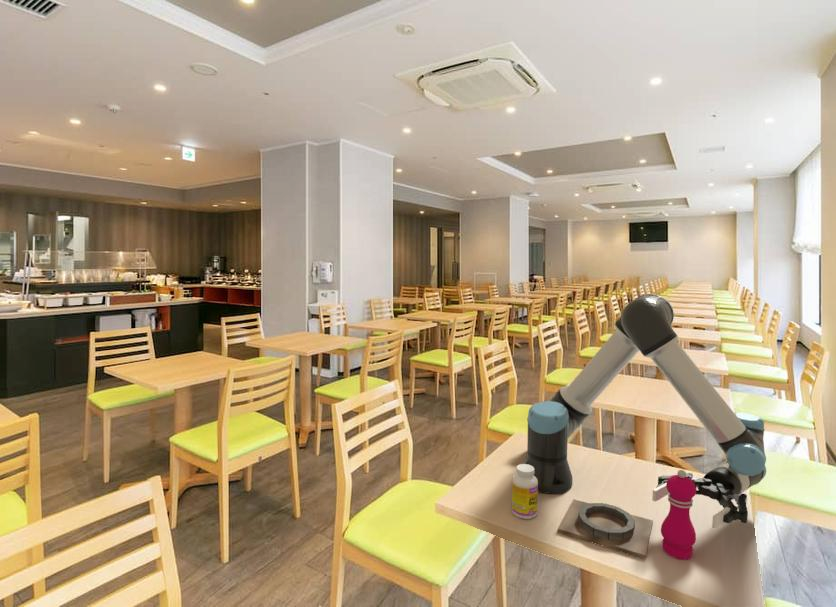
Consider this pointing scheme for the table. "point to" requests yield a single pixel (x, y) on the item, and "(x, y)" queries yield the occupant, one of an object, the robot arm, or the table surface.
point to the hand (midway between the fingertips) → (682, 508)
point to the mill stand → (607, 527)
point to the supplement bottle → (524, 492)
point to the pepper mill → (679, 517)
